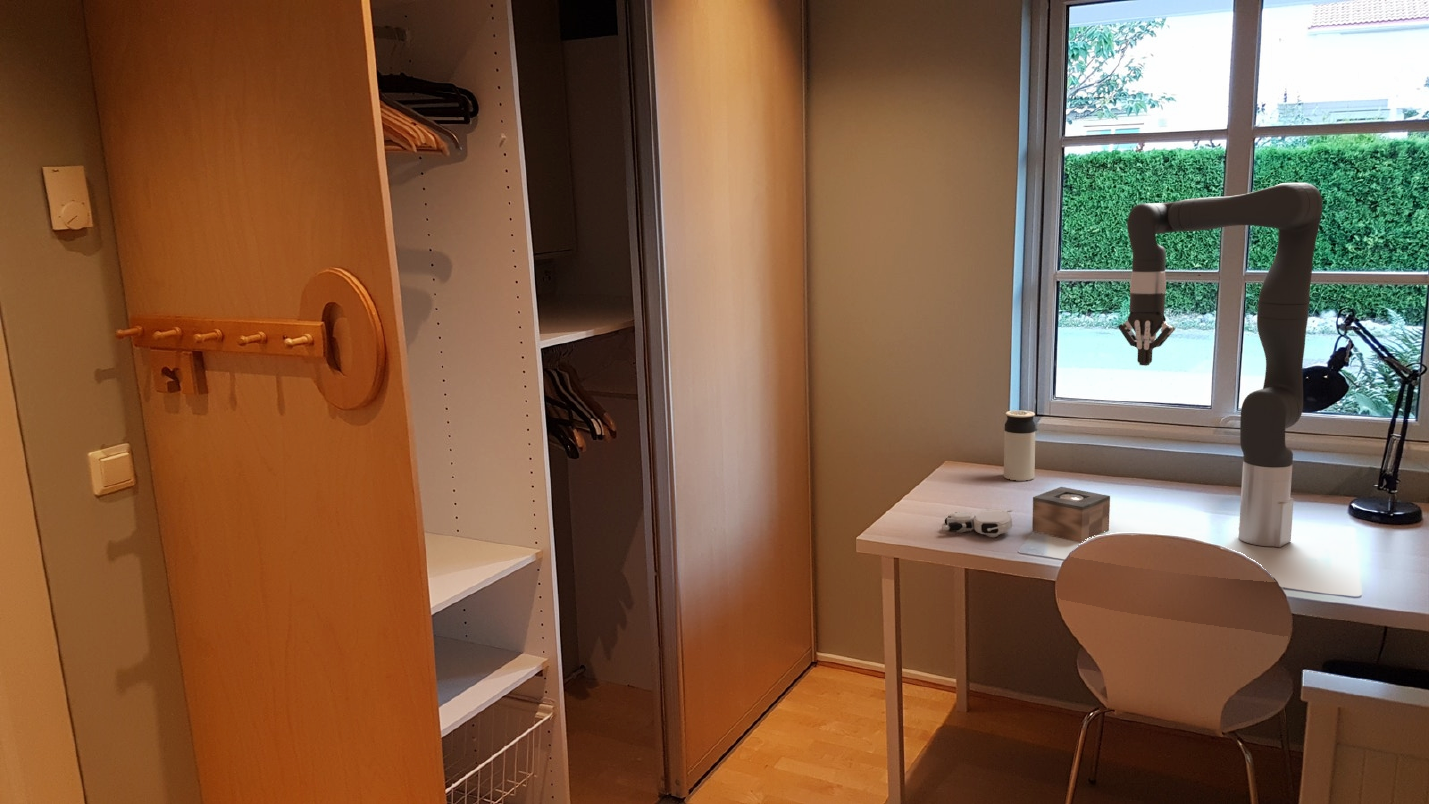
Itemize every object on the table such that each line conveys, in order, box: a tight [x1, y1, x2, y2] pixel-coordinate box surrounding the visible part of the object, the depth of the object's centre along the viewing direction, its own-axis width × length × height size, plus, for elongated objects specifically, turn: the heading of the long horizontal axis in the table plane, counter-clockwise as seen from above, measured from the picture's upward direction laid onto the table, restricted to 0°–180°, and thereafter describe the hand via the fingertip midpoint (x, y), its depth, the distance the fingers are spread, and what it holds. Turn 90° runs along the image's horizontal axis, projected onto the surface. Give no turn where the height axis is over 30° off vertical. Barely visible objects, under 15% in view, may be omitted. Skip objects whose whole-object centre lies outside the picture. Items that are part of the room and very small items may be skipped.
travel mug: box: [1003, 409, 1036, 482], centre depth 275 cm, size 8×8×18 cm
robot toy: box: [941, 509, 1013, 538], centre depth 231 cm, size 12×4×15 cm
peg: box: [1060, 494, 1083, 502], centre depth 229 cm, size 5×5×8 cm
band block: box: [1031, 486, 1111, 543], centre depth 229 cm, size 12×12×8 cm
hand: (1144, 365), depth 238 cm, fingers closed
